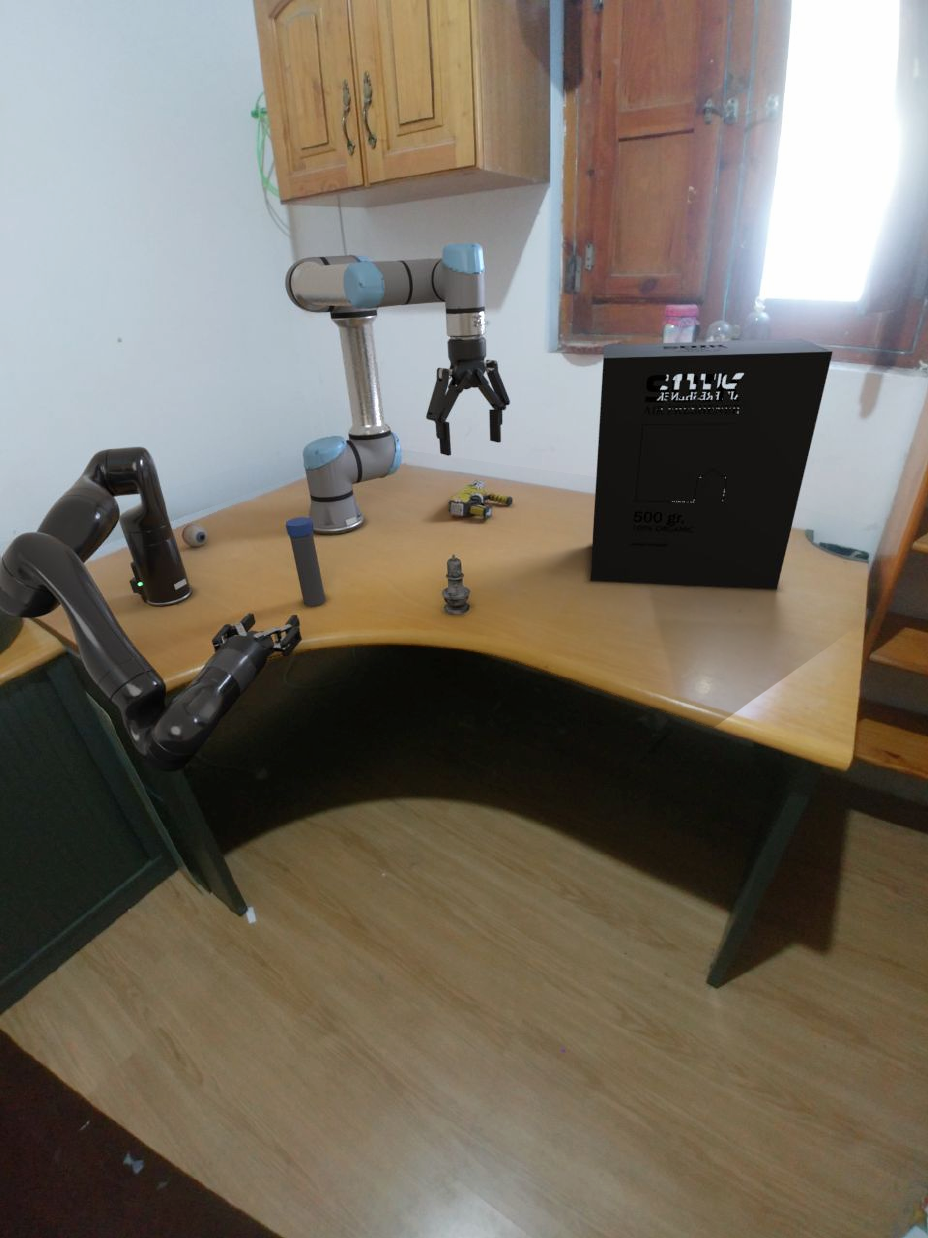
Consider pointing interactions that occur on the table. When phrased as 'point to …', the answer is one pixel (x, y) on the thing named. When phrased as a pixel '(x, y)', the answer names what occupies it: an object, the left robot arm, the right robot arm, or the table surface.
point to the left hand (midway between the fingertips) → (274, 618)
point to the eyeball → (194, 535)
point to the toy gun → (475, 501)
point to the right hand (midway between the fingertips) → (471, 447)
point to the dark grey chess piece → (455, 588)
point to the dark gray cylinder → (308, 570)
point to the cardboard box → (703, 460)
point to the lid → (299, 527)
